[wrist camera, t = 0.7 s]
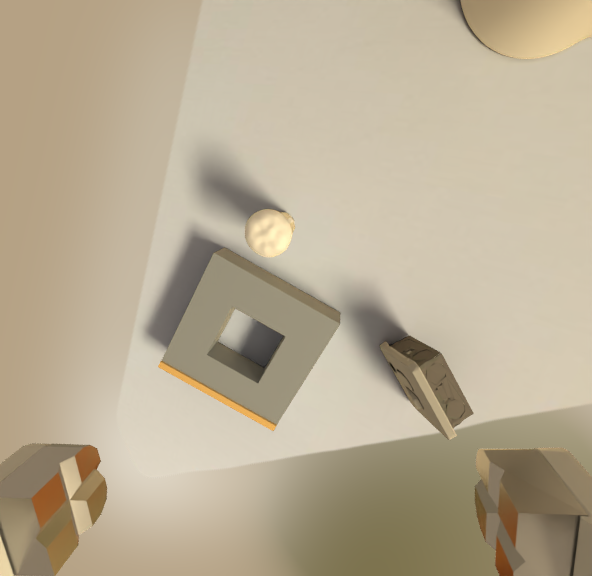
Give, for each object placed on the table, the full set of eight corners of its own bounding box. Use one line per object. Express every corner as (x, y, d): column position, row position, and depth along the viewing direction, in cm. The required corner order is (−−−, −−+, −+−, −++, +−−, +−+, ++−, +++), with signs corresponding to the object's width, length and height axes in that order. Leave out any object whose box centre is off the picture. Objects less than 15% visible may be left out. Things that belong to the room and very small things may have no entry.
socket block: (224, 247, 45) (212, 253, 41) (340, 312, 45) (340, 325, 41) (173, 352, 49) (158, 366, 45) (279, 411, 50) (273, 431, 46)
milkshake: (314, 230, 43) (305, 241, 34) (274, 252, 44) (255, 269, 35) (294, 194, 42) (280, 196, 33) (255, 218, 44) (230, 225, 34)
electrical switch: (377, 342, 46) (393, 375, 37) (415, 322, 45) (442, 351, 36) (411, 404, 47) (435, 450, 38) (449, 385, 47) (483, 428, 37)
